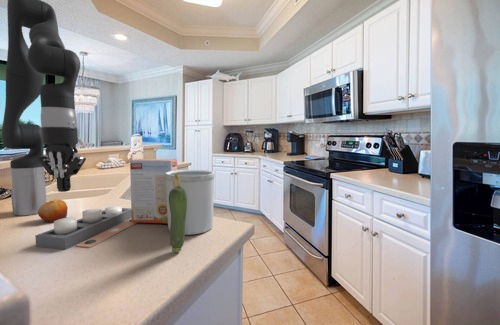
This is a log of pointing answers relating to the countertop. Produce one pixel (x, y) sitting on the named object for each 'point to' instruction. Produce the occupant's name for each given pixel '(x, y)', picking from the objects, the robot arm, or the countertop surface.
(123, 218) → the button board
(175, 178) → the vegetable
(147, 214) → the cracker box
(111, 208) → the button
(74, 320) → the countertop surface
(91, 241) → the pattern card
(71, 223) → the button
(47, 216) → the fruit
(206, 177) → the utensil holder
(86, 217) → the middle button
